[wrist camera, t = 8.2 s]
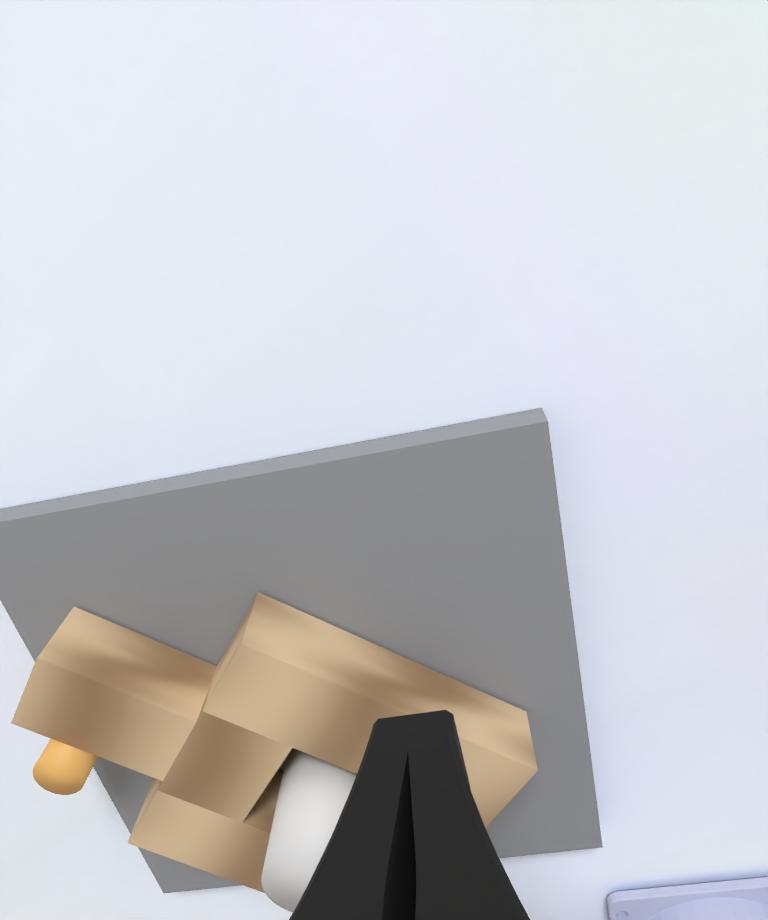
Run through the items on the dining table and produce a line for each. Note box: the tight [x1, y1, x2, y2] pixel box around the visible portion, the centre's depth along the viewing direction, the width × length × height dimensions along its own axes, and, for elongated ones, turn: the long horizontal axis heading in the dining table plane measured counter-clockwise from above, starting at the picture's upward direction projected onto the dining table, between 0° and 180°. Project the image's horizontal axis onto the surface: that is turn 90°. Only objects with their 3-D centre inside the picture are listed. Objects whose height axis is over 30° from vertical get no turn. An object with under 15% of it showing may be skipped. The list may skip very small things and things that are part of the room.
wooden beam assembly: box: [11, 592, 538, 893], centre depth 23 cm, size 15×10×2 cm, turn 62°
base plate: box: [0, 408, 602, 912], centre depth 22 cm, size 18×18×6 cm
